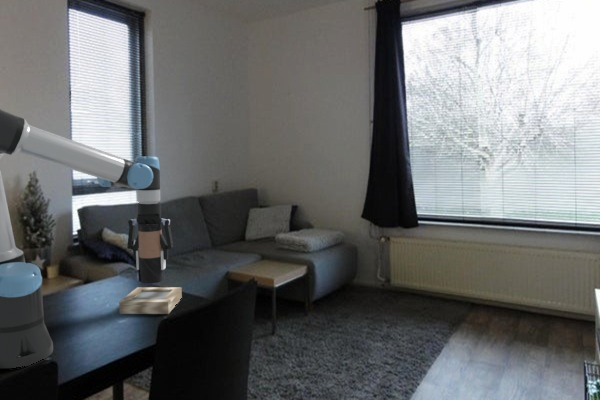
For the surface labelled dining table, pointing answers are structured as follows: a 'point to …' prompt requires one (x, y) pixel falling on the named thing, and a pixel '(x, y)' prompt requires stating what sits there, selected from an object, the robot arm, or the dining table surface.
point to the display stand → (150, 300)
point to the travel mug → (150, 252)
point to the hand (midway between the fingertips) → (151, 268)
